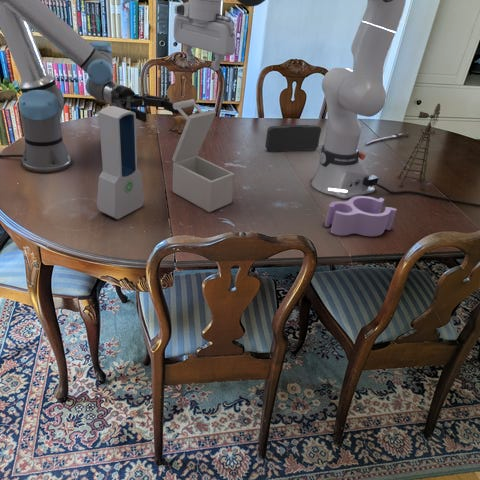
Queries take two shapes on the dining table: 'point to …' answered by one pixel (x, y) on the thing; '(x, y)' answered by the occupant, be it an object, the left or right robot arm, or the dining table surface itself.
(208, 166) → the chest
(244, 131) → the dining table surface
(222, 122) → the dining table surface
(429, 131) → the miniature windmill
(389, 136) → the sword
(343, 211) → the clip
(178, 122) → the lion figurine
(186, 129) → the lid
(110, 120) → the electronic device
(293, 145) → the handheld gaming console
